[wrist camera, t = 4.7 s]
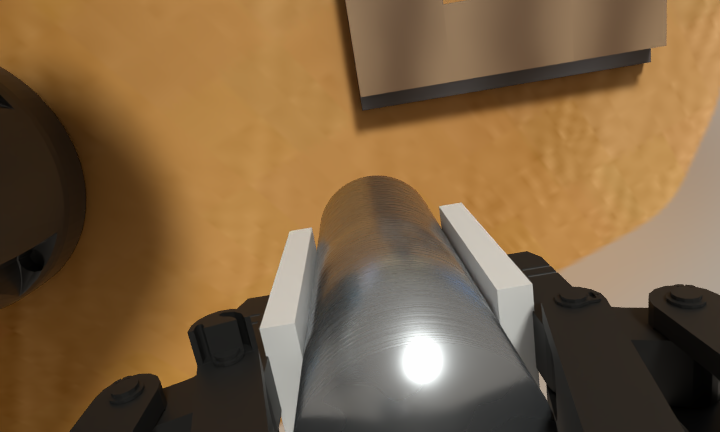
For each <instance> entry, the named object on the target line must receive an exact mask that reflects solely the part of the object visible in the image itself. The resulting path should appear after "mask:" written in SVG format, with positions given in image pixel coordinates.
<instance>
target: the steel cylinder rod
mask: <svg viewBox="0 0 720 432" xmlns="http://www.w3.org/2000/svg"><path fill="white" fill-rule="evenodd" d="M293 432H558V429H557V424H556V421H555V418H554V415H553V412H552V410H551V408H550V406H549V404H548V402H547V400H546V398H545V396H544V395H543V393H542V392H541V390H540V388H539V387H538V385H537V383H536V382H535V380H534V379H533V377H532V375H531V374H530V372H529V370H528V369H527V367H526V366H525V364H524V362H523V361H522V359H521V357H520V356H519V354H518V353H517V351H516V349H515V348H514V346H513V344H512V343H511V341H510V340H509V338H508V336H507V335H506V333H505V331H504V330H503V328H502V326H501V325H500V323H499V322H498V320H497V318H496V317H495V315H494V313H493V312H492V310H491V309H490V307H489V305H488V304H487V302H486V300H485V299H484V297H483V296H482V294H481V292H480V291H479V289H478V287H477V286H476V284H475V283H474V281H473V279H472V278H471V276H470V274H469V273H468V271H467V270H466V268H465V266H464V265H463V263H462V261H461V260H460V258H459V257H458V255H457V253H456V252H455V250H454V248H453V247H452V245H451V244H450V242H449V240H448V239H447V237H446V235H445V234H444V232H443V231H442V229H441V227H440V226H439V224H438V222H437V221H436V219H435V218H434V216H433V214H432V213H431V211H430V209H429V208H428V206H427V205H426V203H425V201H424V200H423V198H422V197H421V196H420V195H419V194H418V192H417V191H416V190H414V189H413V188H412V187H411V186H409V185H408V184H406V183H404V182H402V181H400V180H398V179H395V178H392V177H387V176H367V177H363V178H359V179H357V180H354V181H352V182H350V183H348V184H346V185H345V186H343V187H342V188H340V189H339V190H338V191H337V192H336V193H335V194H334V195H333V196H332V198H331V199H330V200H329V202H328V204H327V205H326V207H325V209H324V212H323V215H322V218H321V224H320V231H319V239H318V247H317V254H316V262H315V270H314V277H313V285H312V292H311V300H310V308H309V315H308V323H307V331H306V338H305V346H304V354H303V361H302V369H301V376H300V384H299V392H298V399H297V407H296V415H295V422H294V430H293Z"/></svg>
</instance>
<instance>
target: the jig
mask: <svg viewBox="0 0 720 432" xmlns="http://www.w3.org/2000/svg"><path fill="white" fill-rule="evenodd" d="M345 4H346V10H347V16H348V23H349V29H350V35H351V41H352V48H353V54H354V60H355V67H356V73H357V79H358V86H359V92H360V98H361V104H362V110H369V109H374V108H380V107H386V106H392V105H398V104H404V103H410V102H416V101H422V100H428V99H434V98H440V97H446V96H452V95H458V94H464V93H470V92H476V91H481V90H487V89H493V88H499V87H505V86H511V85H517V84H523V83H529V82H535V81H541V80H547V79H553V78H559V77H565V76H571V75H577V74H582V73H588V72H594V71H600V70H606V69H612V68H618V67H624V66H630V65H636V64H642V63H648V62H651V48H655V47H661V46H666V35H667V0H466V1H460V2H454V3H449V4H443V0H345Z"/></svg>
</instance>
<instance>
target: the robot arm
mask: <svg viewBox="0 0 720 432" xmlns="http://www.w3.org/2000/svg"><path fill="white" fill-rule="evenodd" d="M85 210H86V191H85V183H84V177H83V172H82V168H81V165H80V161H79V159H78V156H77V153H76V151H75V148H74V146H73V144H72V142H71V140H70V138H69V136H68V134H67V132H66V131H65V129H64V127H63V126H62V124H61V123H60V121H59V120H58V118H57V117H56V116H55V114H54V113H53V112H52V110H51V109H50V108H49V107H48V106H47V104H46V103H45V102H44V101H43V100H42V99H41V98H40V97H39V96H38V95H37V94H36V93H35V92H34V91H33V90H32V89H31V88H29V87H28V86H27V85H26V84H25V83H23V82H22V81H21V80H19V79H18V78H17V77H15V76H14V75H13V74H11V73H10V72H8V71H6V70H5V69H3V68H1V67H0V309H1V308H3V307H6V306H8V305H10V304H12V303H14V302H16V301H18V300H20V299H21V298H23V297H24V296H26V295H27V294H29V293H30V292H32V291H33V290H35V289H36V288H38V287H39V286H40V285H42V284H43V283H45V282H46V281H48V280H49V279H50V278H51V277H53V276H54V275H55V274H56V273H57V272H58V271H59V270H60V269H61V268H62V266H63V265H64V264H65V263H66V261H67V260H68V259H69V257H70V256H71V254H72V252H73V251H74V249H75V247H76V245H77V243H78V240H79V237H80V235H81V231H82V228H83V224H84V219H85ZM439 210H440V218H441V226H442V231H443V232H444V234H445V235H446V237H447V239H448V240H449V242H450V244H451V245H452V247H453V248H454V250H455V252H456V253H457V255H458V257H459V258H460V260H461V261H462V263H463V265H464V266H465V268H466V270H467V271H468V273H469V274H470V276H471V278H472V279H473V281H474V283H475V284H476V286H477V287H478V289H479V291H480V292H481V294H482V296H483V297H484V299H485V300H486V302H487V304H488V305H489V307H490V309H491V310H492V312H493V313H494V315H495V317H496V318H497V320H498V322H499V323H500V325H501V326H502V328H503V330H504V331H505V333H506V335H507V336H508V338H509V340H510V341H511V343H512V344H513V346H514V348H515V349H516V351H517V353H518V354H519V356H520V357H521V359H522V361H523V362H524V364H525V366H526V367H527V369H528V370H529V372H530V374H531V375H532V377H533V379H534V380H535V382H536V383H537V385H538V387H539V372H540V374H541V376H542V377H543V379H544V380H545V382H546V384H547V401H548V404H549V406H550V408H551V410H552V412H553V415H554V418H555V421H556V424H557V429H558V432H720V295H718V294H716V293H714V292H711V291H709V290H707V289H702V288H698V287H695V286H692V285H685V286H684V285H682V284H677V285H674V286H664V287H660V288H657V289H654V290H653V291H652V292H651V293H649V308H620V307H611V306H610V304H609V303H608V301H607V299H606V298H605V297H604V296H603V295H602V294H601V293H599V292H596V291H594V290H592V289H587V288H581V287H572V286H571V285H570V284H569V283H568V282H567V281H566V280H565V279H564V278H563V277H562V276H561V275H560V274H559V273H556V271H555V270H554V269H553V268H552V267H551V266H549V264H548V263H547V262H546V261H545V260H544V259H543V258H542V257H540V256H538V255H535V254H532V253H530V252H527V251H526V252H520V253H514V254H508V255H507V254H506V253H505V252H504V251H503V250H502V249H501V247H500V246H499V245H498V244H497V243H496V242H495V241H494V239H493V238H492V237H491V236H490V235H489V234H488V233H487V231H486V230H485V229H484V228H483V227H482V226H481V225H480V223H479V222H478V221H477V220H476V219H475V218H474V217H473V215H472V214H471V213H470V212H469V211H468V210H467V209H466V207H465V206H464V205H463V204H462V203H456V204H450V205H444V206H439ZM316 254H317V251H316V246H315V241H314V236H313V231H312V228H306V229H300V230H294V231H290V232H289V235H288V239H287V242H286V245H285V248H284V252H283V255H282V258H281V261H280V264H279V268H278V271H277V274H276V277H275V281H274V284H273V287H272V290H271V293H270V295H268V296H262V297H256V298H250V299H247V300H246V301H245V302H244V303H243V304H242V305H241V306H240V307H238V308H237V309H229V310H223V311H218V312H215V313H212V314H209V315H207V316H205V317H203V318H201V319H200V320H198V321H197V322H195V323H194V324H193V325H192V326H191V327H190V329H189V331H188V336H189V339H190V342H191V346H192V349H193V352H194V356H195V359H196V362H197V375H196V376H194V377H193V378H190V379H188V380H185V381H183V382H180V383H177V384H174V385H172V386H169V387H166V388H162V385H161V382H160V380H159V378H158V376H156V375H153V374H137V375H134V376H127V377H124V378H123V379H122V380H121V379H120V380H118V381H115V382H114V383H113V384H112V385H110V386H109V387H107V388H106V389H104V390H103V391H102V392H101V393H100V394H99V395H98V396H97V397H96V398H95V399H94V400H93V402H92V403H91V404H90V406H89V407H88V408H87V409H86V411H85V412H84V413H83V415H82V416H81V417H80V419H79V420H78V421H77V422H76V424H75V425H74V426H73V428H72V429H71V430H70V432H279V423H280V418H281V417H282V421H283V425H284V429H285V432H293V430H294V422H295V415H296V407H297V399H298V392H299V384H300V376H301V369H302V361H303V354H304V346H305V338H306V331H307V323H308V315H309V308H310V300H311V292H312V285H313V277H314V270H315V262H316ZM538 371H539V372H538Z"/></svg>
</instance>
